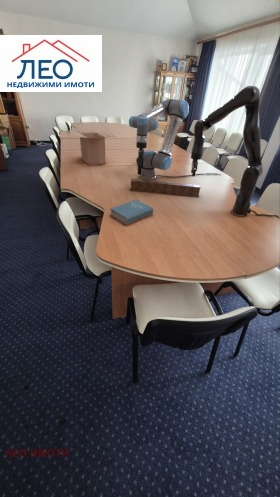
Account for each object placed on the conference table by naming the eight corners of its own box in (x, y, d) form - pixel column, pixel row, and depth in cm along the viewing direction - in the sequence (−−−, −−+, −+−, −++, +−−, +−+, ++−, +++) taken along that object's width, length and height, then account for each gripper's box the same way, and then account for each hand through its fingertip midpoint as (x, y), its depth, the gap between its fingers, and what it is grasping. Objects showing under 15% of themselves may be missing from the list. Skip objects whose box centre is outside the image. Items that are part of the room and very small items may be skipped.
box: (116, 165, 229) (116, 136, 213) (83, 168, 214) (80, 137, 198) (102, 154, 259) (101, 128, 243) (71, 156, 244) (68, 129, 228)
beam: (130, 190, 178) (131, 180, 173) (131, 188, 181) (131, 178, 177) (198, 197, 175) (200, 187, 171) (197, 195, 179) (199, 185, 174)
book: (135, 206, 155) (136, 199, 152) (152, 214, 146) (153, 207, 143) (110, 215, 142) (110, 208, 139) (127, 225, 133) (127, 218, 130)
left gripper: (145, 146, 148) (143, 177, 161) (148, 138, 168) (146, 166, 181) (134, 145, 148) (133, 176, 161) (138, 137, 168) (137, 166, 181)
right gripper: (203, 154, 152) (198, 177, 162) (201, 150, 164) (196, 172, 173) (192, 153, 153) (188, 177, 162) (191, 149, 164) (187, 171, 174)
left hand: (140, 171), depth 171 cm, fingers open, 13 cm apart
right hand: (192, 174), depth 168 cm, fingers open, 8 cm apart
